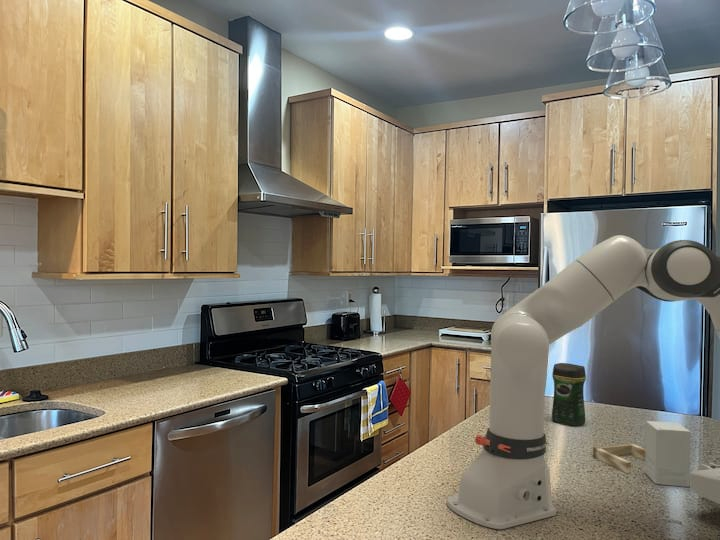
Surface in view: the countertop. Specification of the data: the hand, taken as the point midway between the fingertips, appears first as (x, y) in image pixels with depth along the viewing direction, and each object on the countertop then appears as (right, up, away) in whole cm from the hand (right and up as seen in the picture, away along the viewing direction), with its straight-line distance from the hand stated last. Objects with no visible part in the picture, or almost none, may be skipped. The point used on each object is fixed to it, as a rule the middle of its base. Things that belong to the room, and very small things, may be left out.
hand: (703, 466), depth 115 cm
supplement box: (-3, -7, +9) cm, 12 cm away
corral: (-6, -6, +19) cm, 21 cm away
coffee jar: (-8, -6, +54) cm, 55 cm away
